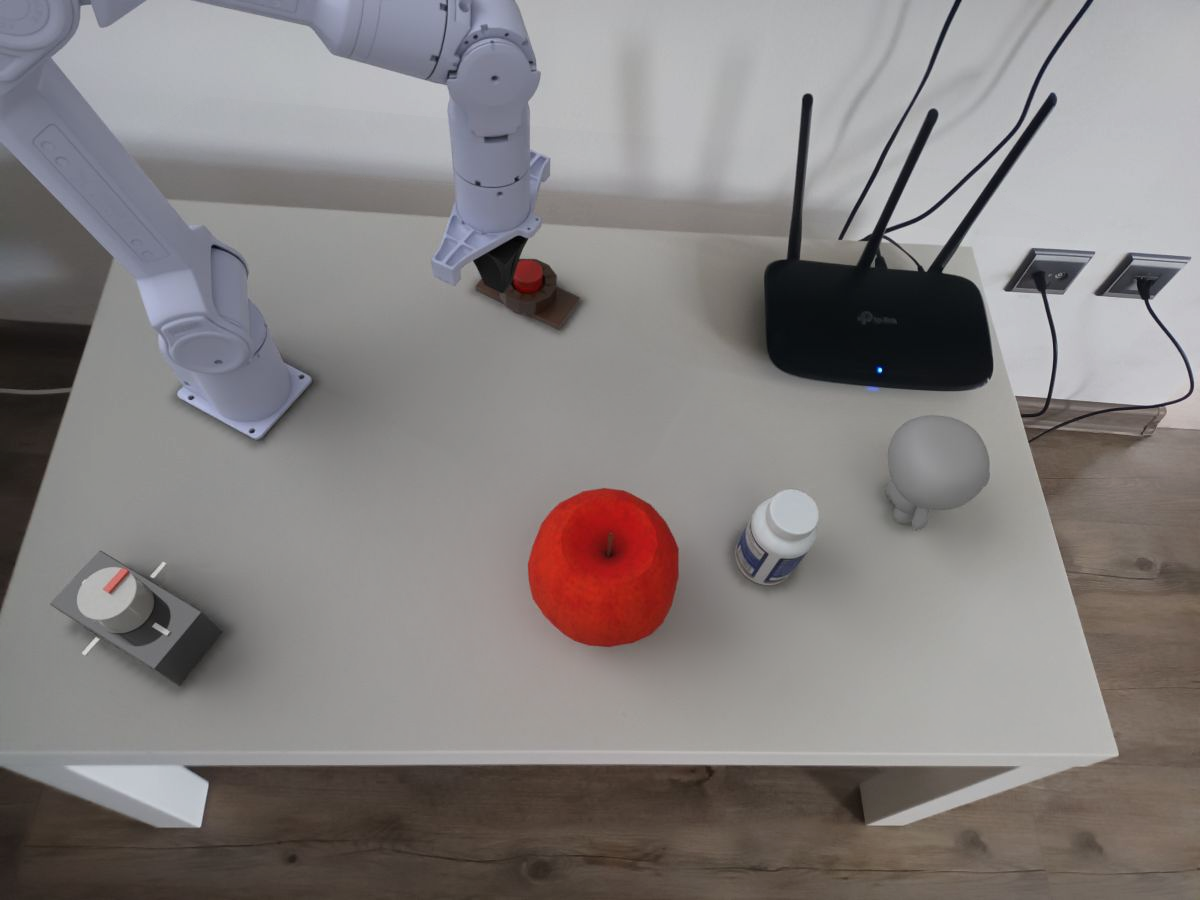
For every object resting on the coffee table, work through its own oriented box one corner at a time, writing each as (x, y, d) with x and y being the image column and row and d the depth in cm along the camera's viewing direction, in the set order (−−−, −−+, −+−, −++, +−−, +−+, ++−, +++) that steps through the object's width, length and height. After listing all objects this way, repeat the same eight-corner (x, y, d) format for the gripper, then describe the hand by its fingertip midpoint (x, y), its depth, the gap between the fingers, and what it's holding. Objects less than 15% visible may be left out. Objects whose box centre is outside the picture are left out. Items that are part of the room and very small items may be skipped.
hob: (65, 641, 64) (30, 621, 60) (141, 557, 68) (114, 532, 64) (164, 705, 62) (136, 688, 58) (237, 615, 66) (216, 593, 62)
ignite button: (507, 286, 83) (507, 274, 81) (522, 267, 84) (522, 255, 83) (532, 298, 82) (533, 286, 81) (547, 279, 84) (548, 267, 82)
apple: (681, 655, 67) (713, 601, 56) (542, 685, 65) (546, 635, 54) (645, 527, 73) (668, 454, 61) (516, 551, 71) (514, 480, 59)
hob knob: (126, 643, 60) (105, 628, 57) (84, 617, 60) (61, 601, 57) (166, 597, 61) (147, 581, 58) (124, 573, 62) (104, 555, 59)
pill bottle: (799, 541, 73) (834, 493, 65) (786, 595, 71) (821, 552, 62) (741, 522, 74) (769, 471, 66) (727, 574, 71) (753, 528, 63)
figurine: (947, 544, 75) (1016, 483, 64) (869, 550, 74) (926, 490, 63) (920, 467, 78) (980, 398, 68) (845, 472, 78) (895, 404, 67)
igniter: (471, 295, 85) (470, 278, 83) (501, 259, 87) (501, 242, 85) (555, 335, 83) (556, 319, 81) (583, 297, 86) (584, 281, 84)
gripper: (484, 243, 56) (491, 360, 68) (585, 126, 63) (576, 250, 75) (399, 203, 58) (421, 324, 69) (507, 93, 64) (511, 220, 76)
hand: (497, 284), depth 72 cm, fingers closed
